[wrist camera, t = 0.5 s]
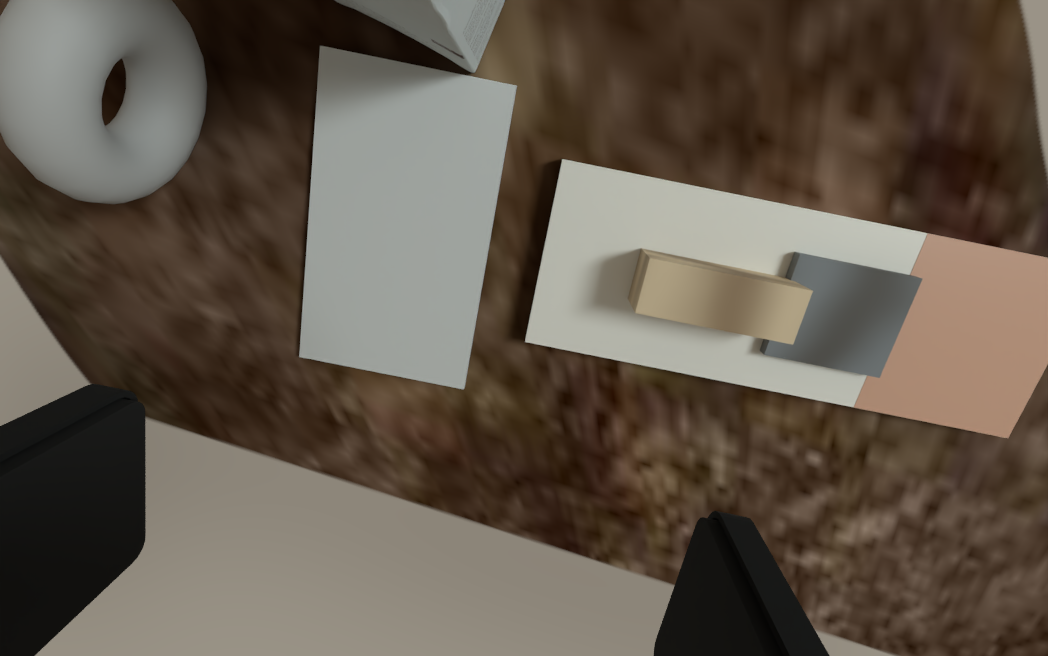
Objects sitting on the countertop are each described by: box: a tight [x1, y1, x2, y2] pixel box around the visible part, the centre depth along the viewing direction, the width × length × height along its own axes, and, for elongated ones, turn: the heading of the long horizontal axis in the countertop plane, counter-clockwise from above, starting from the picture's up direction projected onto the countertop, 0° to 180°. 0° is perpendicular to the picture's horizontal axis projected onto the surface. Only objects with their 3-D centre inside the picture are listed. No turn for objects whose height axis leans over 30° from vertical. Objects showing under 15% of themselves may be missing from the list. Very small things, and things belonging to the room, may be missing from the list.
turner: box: [628, 248, 922, 378], centre depth 28 cm, size 14×6×3 cm, turn 79°
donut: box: [0, 0, 207, 204], centre depth 24 cm, size 10×4×10 cm, turn 160°
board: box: [525, 159, 1048, 438], centre depth 30 cm, size 10×28×1 cm, turn 79°
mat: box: [299, 46, 517, 389], centre depth 30 cm, size 17×10×1 cm, turn 169°
